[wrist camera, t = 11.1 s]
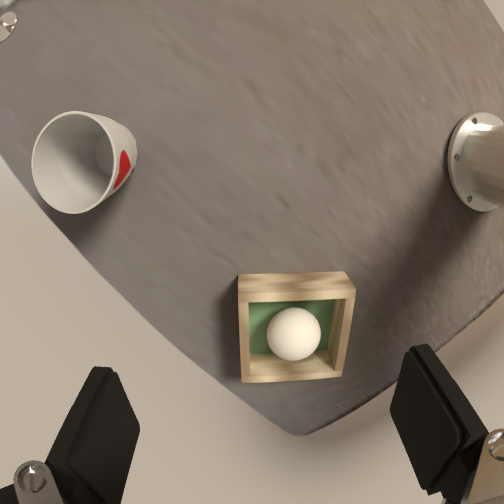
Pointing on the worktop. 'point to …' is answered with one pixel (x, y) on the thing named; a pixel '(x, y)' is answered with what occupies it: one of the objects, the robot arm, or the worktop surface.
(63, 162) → the cup
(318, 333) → the ball
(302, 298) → the wooden square tray
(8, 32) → the wineglass
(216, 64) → the worktop surface
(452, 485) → the robot arm
